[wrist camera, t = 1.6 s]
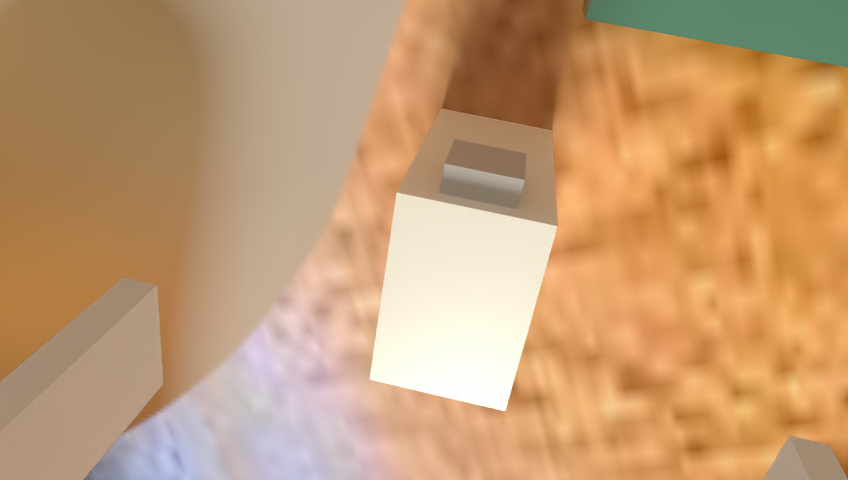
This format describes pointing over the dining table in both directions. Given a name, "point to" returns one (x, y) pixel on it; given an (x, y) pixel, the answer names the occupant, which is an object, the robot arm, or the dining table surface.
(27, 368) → the robot arm
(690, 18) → the board
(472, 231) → the plug
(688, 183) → the dining table surface
